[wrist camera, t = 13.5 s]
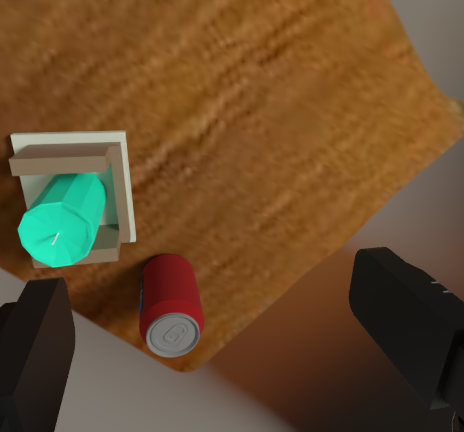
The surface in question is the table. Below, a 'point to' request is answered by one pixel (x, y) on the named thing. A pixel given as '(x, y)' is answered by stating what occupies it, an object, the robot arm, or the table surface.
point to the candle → (64, 219)
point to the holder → (81, 161)
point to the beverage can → (170, 306)
